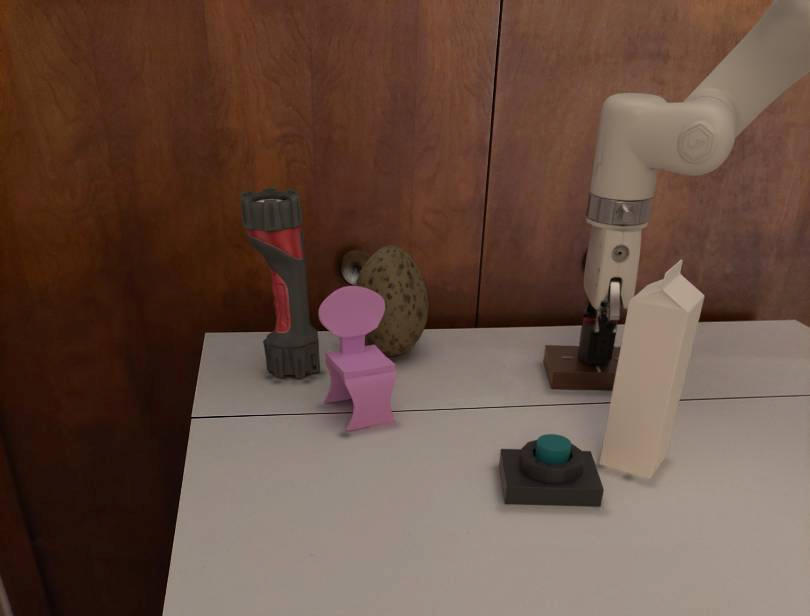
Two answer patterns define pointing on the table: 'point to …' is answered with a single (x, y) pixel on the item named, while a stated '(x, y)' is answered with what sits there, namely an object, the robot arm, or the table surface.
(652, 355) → the milk
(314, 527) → the table surface
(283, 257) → the flashlight
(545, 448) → the teal push button
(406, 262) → the decorative egg
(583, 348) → the dial
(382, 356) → the toy chair
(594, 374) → the dial panel
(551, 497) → the push button base
